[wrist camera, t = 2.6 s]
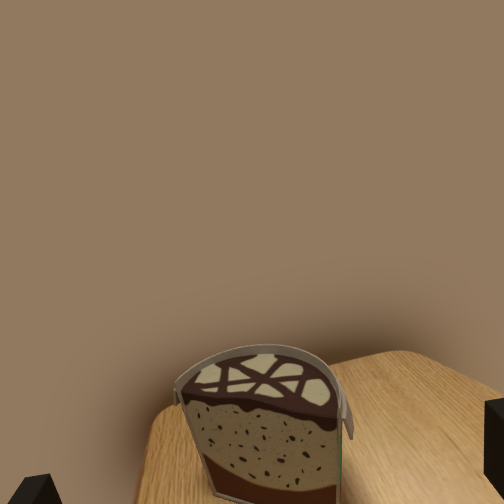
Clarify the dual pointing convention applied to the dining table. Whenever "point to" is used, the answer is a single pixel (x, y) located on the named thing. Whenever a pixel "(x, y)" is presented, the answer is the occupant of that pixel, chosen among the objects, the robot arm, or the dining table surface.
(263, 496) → the food container
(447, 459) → the dining table surface
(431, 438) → the dining table surface
